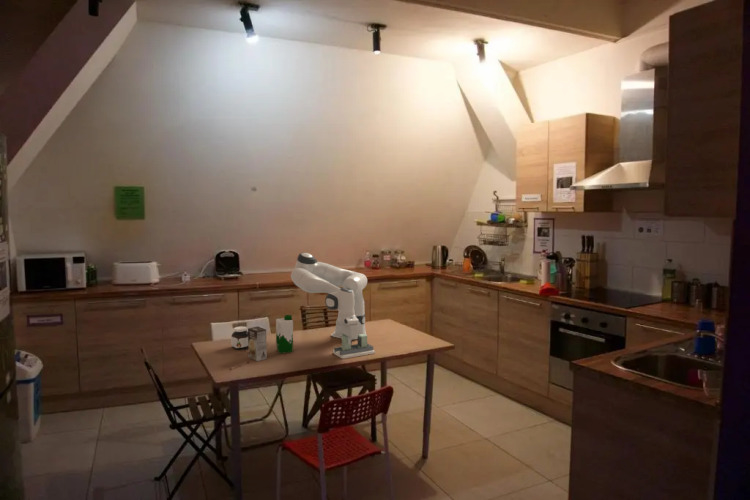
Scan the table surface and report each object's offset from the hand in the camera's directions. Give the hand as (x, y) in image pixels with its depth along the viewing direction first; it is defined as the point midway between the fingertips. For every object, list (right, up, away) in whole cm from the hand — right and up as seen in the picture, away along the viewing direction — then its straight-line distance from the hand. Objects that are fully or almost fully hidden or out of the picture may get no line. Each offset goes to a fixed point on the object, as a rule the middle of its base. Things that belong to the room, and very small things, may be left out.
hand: (346, 342), depth 278 cm
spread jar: (-59, -5, +13) cm, 61 cm away
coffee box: (-47, -7, -7) cm, 48 cm away
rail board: (+4, -6, +3) cm, 8 cm away
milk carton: (-35, -6, +6) cm, 36 cm away
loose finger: (0, -4, 0) cm, 4 cm away
